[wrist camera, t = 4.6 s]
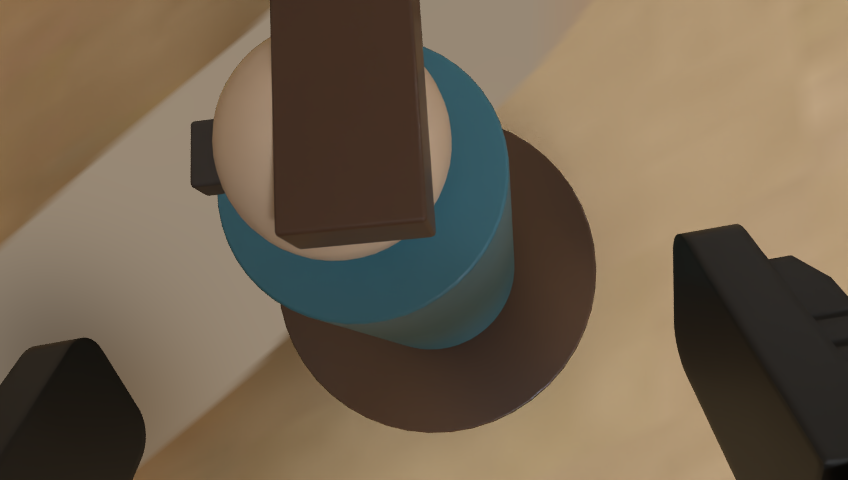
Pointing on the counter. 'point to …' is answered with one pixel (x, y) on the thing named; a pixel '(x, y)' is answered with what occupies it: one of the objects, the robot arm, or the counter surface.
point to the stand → (495, 346)
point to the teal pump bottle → (362, 175)
